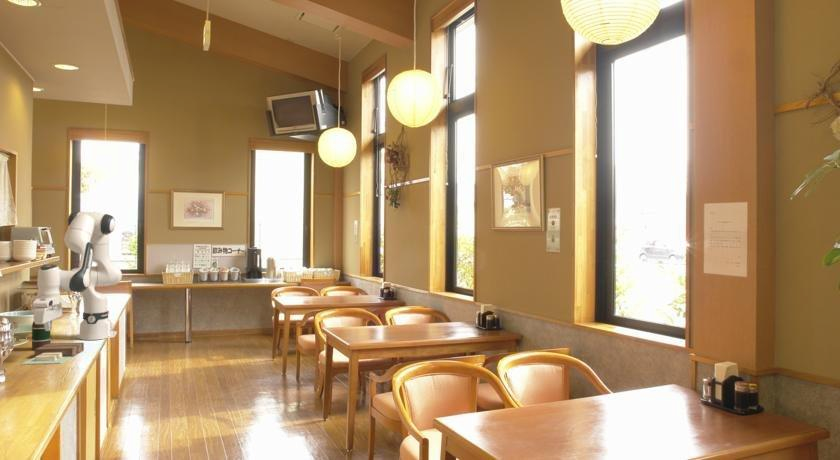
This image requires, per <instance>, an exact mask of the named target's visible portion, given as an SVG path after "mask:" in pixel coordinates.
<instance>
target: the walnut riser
mask: <svg viewBox="0 0 840 460" xmlns="http://www.w3.org/2000/svg"><path fill="white" fill-rule="evenodd" d="M84 346H85V343H84V342H58V343H57V342H54V343H53V342H50V343H48V344H46V345H44V346H41V347H39V348H37V349H35V350H34V358H35V357H36V356H38V355H40V354H42V353H57V352H62V357H71V358H73V357H75V356H77V355H79V354H80V353H83V352H84V349H85V347H84Z"/></svg>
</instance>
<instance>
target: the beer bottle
mask: <svg viewBox="0 0 840 460" xmlns="http://www.w3.org/2000/svg"><path fill="white" fill-rule="evenodd" d="M48 343H51V330H50V331H45V326H44V324H35V323H34V320H33V322H32V325H31V348H32V350H33V351H35V349H37V348H39V347H41V346H44V345H46V344H48Z"/></svg>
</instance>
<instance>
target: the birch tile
mask: <svg viewBox="0 0 840 460" xmlns="http://www.w3.org/2000/svg"><path fill="white" fill-rule="evenodd" d="M61 357H62V352H57V353H42V354H40V355H38V356H36V357H35V356H34V358H35V361H55V360H57V359H59V358H61Z"/></svg>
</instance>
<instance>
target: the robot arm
mask: <svg viewBox="0 0 840 460" xmlns="http://www.w3.org/2000/svg"><path fill="white" fill-rule="evenodd" d="M67 226H68V228H67V230H66V232H65V235H64V238H63V240H64V241H63V242H64V244H65V247H67V249H69V250H71V251H72V252H74V253H76V254H79V255H80V259H79V266H78V267H75V268H71V270H65V269H64V270H62V269H60V267H59V265H57V264H45V265H42V266H39V269H38V271H37V280H36V281H37V288H38V291H37V297H36V299H35V300H34V301H33V302H32V307H33V315H32V316H33V321H34V323H35V324H44V326H45V331H50V332H51V331H52V330H53V325H54V321H55V320H56V319H58V318H61V317H62V316H63V304H62V302H61V291H62V292H75V293H76V292H77V293H80V295H81V297H82V301H83V312H82V321H81V322H80V323H79V332H78V333H79V335H77V336H76V339H80V340H84V341H93V340H94V341H97V340H104V339H111V338H115V337H116V336H117V334H118V331H117V330H113V325H114V324H113V322H112V321H111V320H110V319H109V314H110V310H108V299H107V296H106V295H105V294H103V293H101V292H98V291H96V290H95V288H96V287H109V286H114V285H117V284H119V283H120V282H121V281H122V278H123V272H122V270H121V269H120V268H119V267H118V266H117V265H115V264H114V263H113V262H112V260H111V258H110V252H109V244H110V243H109V241H110V240H109V239H110V238H109V237H110V236H109V235H110V234H111V233H112V232H114V229H115V227H116V220H115V218H114V216H113V215H110V214H107V213H100V212H95V211H93V212H91V211H80V210H75V211H73V212H71V213H69V215H68V218H67ZM93 262H94V263H97V264H96V265H95V266H93Z"/></svg>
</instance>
